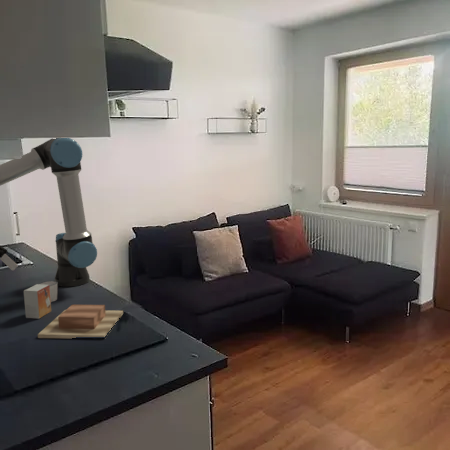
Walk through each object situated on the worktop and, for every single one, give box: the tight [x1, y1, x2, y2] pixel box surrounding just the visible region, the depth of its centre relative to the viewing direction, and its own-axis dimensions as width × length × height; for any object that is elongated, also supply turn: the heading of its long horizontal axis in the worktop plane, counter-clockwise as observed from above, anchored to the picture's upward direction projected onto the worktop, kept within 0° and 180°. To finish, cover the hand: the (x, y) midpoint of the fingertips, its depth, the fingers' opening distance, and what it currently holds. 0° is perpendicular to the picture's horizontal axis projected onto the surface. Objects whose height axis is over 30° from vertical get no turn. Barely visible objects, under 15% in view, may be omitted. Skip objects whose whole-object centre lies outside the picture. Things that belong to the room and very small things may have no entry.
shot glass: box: [39, 280, 58, 303], centre depth 182 cm, size 7×7×7 cm
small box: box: [23, 283, 52, 319], centre depth 166 cm, size 8×6×10 cm
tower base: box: [37, 304, 124, 339], centre depth 156 cm, size 22×22×5 cm
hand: (6, 273), depth 164 cm, fingers open, 13 cm apart
